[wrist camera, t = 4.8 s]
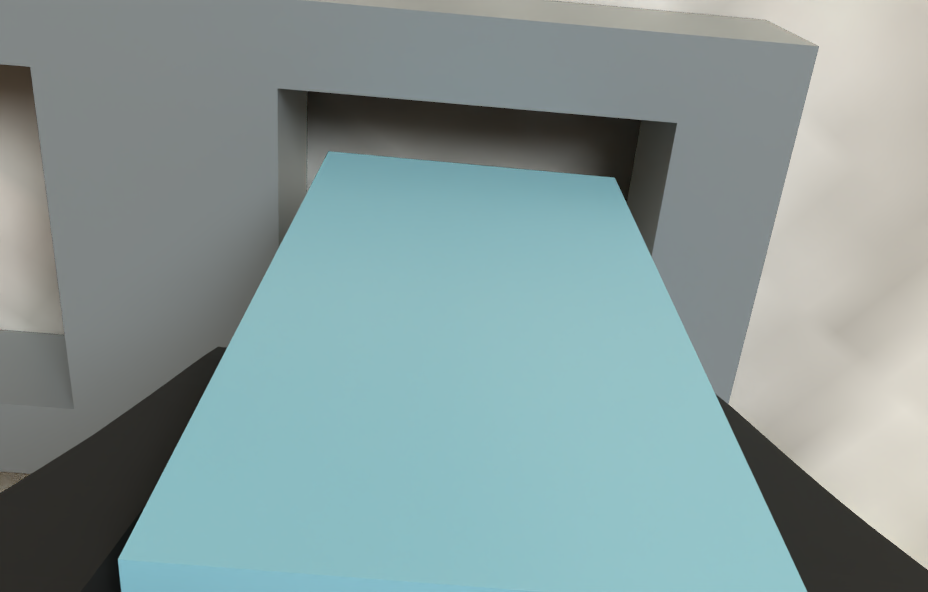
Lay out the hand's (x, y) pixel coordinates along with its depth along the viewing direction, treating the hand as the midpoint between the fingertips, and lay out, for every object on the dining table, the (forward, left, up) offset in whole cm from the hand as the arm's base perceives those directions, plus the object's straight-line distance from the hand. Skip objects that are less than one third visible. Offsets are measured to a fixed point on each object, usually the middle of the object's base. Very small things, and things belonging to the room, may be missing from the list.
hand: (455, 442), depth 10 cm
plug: (0, 0, -4) cm, 4 cm away
